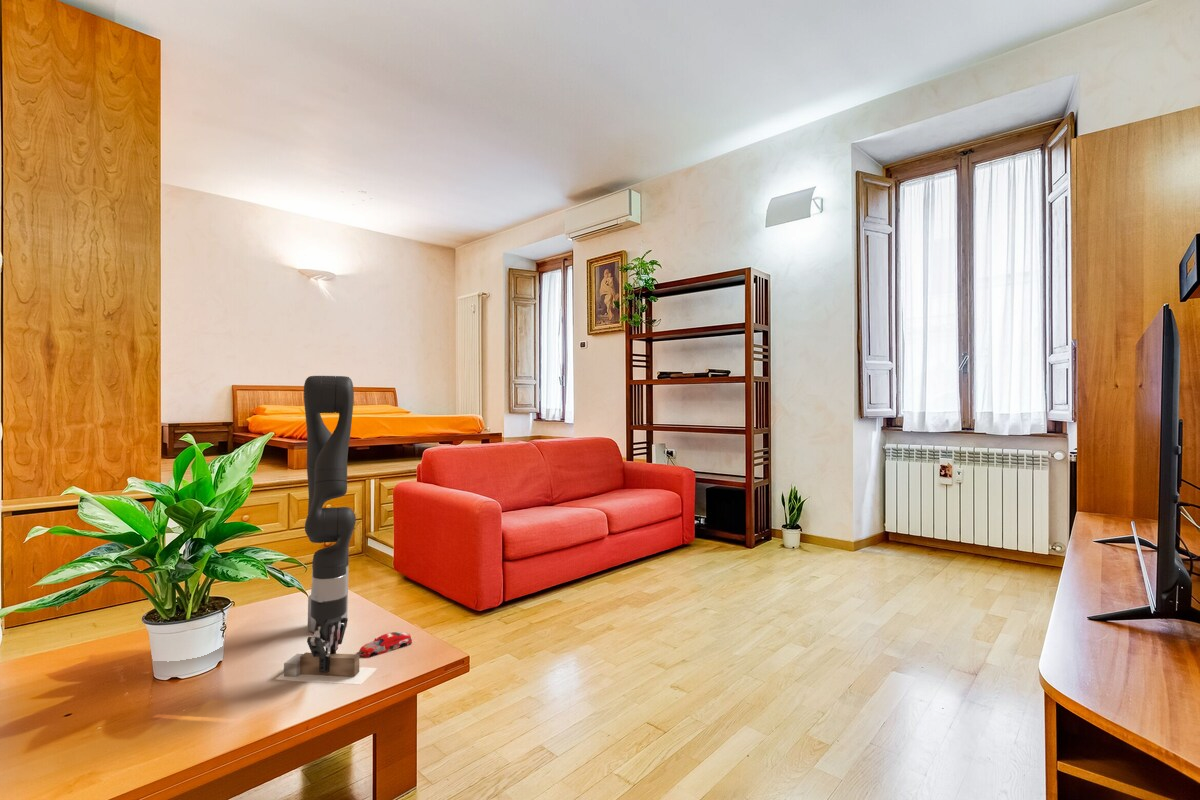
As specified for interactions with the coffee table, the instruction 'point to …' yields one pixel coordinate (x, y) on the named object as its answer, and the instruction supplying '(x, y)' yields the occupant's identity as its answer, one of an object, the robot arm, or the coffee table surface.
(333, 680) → the pad
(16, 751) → the coffee table surface
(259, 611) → the coffee table surface
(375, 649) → the race car
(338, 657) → the brown and gray block
